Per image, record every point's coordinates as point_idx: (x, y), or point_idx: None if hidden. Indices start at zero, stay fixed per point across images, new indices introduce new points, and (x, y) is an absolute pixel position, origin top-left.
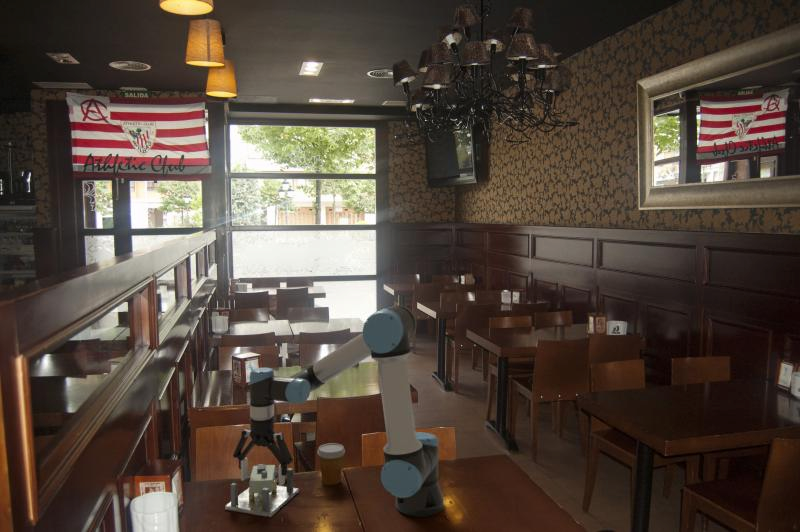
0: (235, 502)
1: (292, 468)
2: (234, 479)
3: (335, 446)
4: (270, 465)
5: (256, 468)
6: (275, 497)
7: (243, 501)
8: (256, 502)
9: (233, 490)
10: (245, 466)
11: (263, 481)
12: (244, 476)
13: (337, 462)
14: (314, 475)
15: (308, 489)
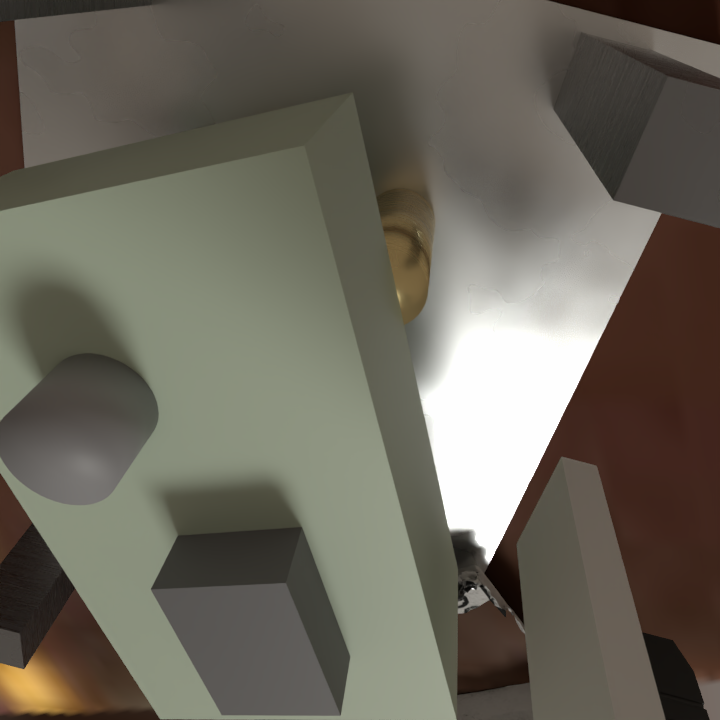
0: (589, 43)
1: None
2: (701, 662)
3: None
4: (211, 710)
5: (378, 654)
6: None
7: (500, 198)
8: None
9: (675, 68)
10: (560, 684)
11: (20, 203)
12: (553, 521)
13: None
14: (89, 667)
15: (12, 495)
